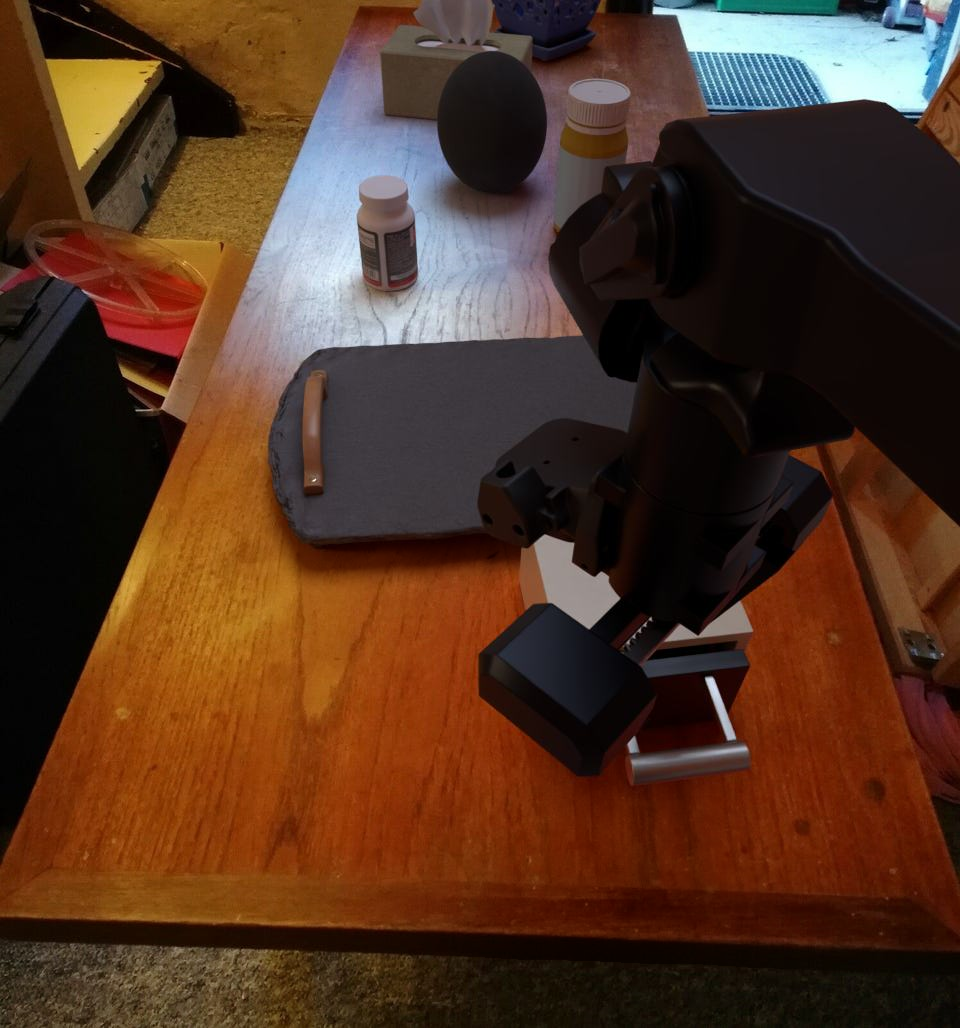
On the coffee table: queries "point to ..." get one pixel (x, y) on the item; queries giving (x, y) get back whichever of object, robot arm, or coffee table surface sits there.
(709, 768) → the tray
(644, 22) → the coffee table surface
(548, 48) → the flower pot
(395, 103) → the tissue box
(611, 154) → the bottle
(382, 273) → the pill bottle
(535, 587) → the grey drawer unit
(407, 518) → the serving tray
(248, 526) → the coffee table surface
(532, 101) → the decorative egg
